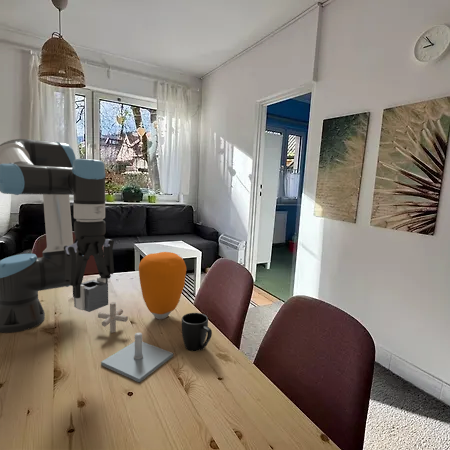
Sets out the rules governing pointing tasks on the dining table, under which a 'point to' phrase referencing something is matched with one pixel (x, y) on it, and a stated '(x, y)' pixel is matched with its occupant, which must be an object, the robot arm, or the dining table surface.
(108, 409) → the dining table surface
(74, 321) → the dining table surface
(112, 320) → the light grey toy jack
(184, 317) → the mug
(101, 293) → the collar
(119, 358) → the post block
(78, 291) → the robot arm
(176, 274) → the orange egg-shaped ornament
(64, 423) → the dining table surface
